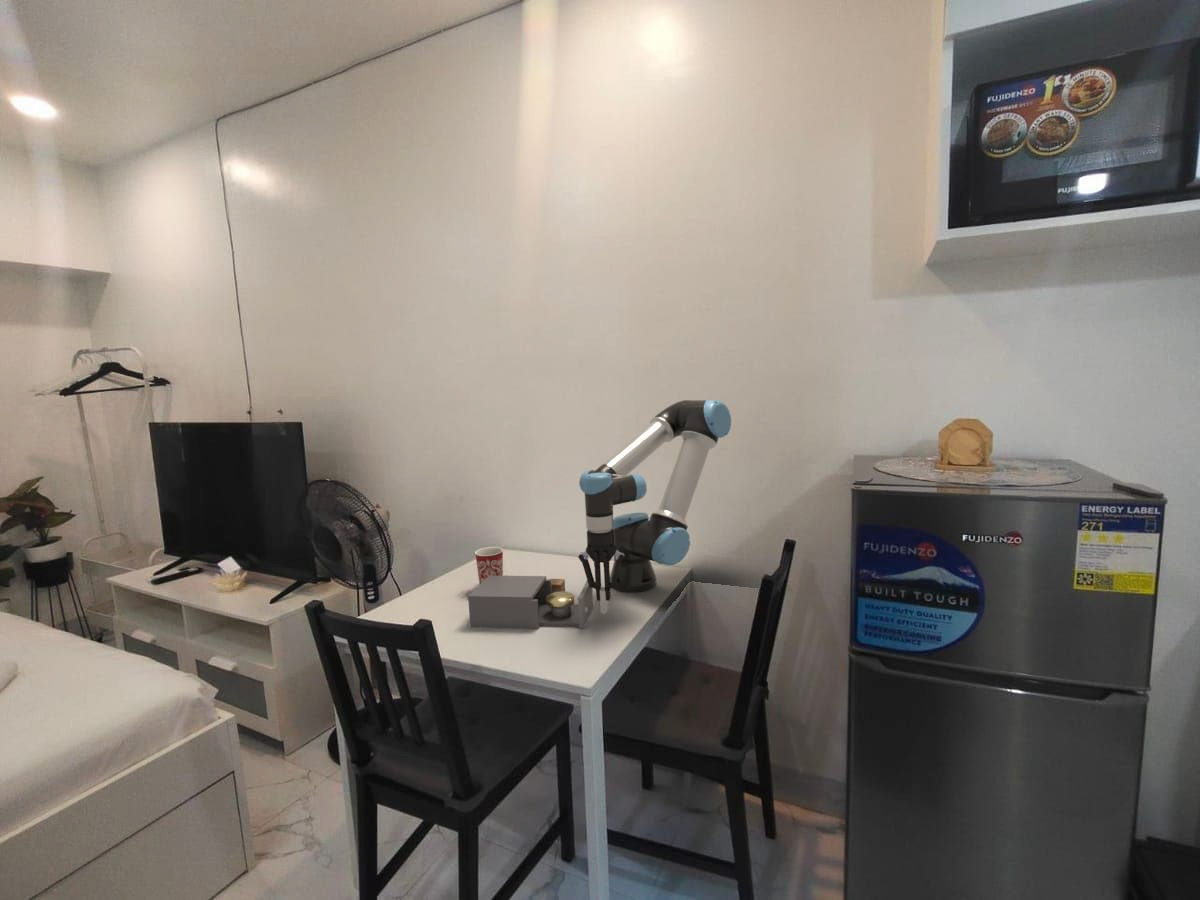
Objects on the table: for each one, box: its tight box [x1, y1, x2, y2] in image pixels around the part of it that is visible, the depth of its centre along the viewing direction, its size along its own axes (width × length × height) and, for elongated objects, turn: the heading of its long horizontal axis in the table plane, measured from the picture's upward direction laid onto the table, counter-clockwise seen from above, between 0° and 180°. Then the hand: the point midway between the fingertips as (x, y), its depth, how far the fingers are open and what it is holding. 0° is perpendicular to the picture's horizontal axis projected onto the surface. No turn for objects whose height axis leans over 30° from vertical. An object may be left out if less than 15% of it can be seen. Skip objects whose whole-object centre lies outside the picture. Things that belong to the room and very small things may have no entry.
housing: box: [467, 575, 552, 630], centre depth 154 cm, size 20×16×9 cm
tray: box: [538, 580, 594, 630], centre depth 152 cm, size 20×15×8 cm
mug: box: [474, 546, 504, 585], centre depth 175 cm, size 13×9×14 cm
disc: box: [546, 591, 575, 609], centre depth 151 cm, size 8×8×2 cm
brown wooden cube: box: [550, 578, 566, 593], centre depth 166 cm, size 5×5×5 cm
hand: (604, 611), depth 150 cm, fingers closed
